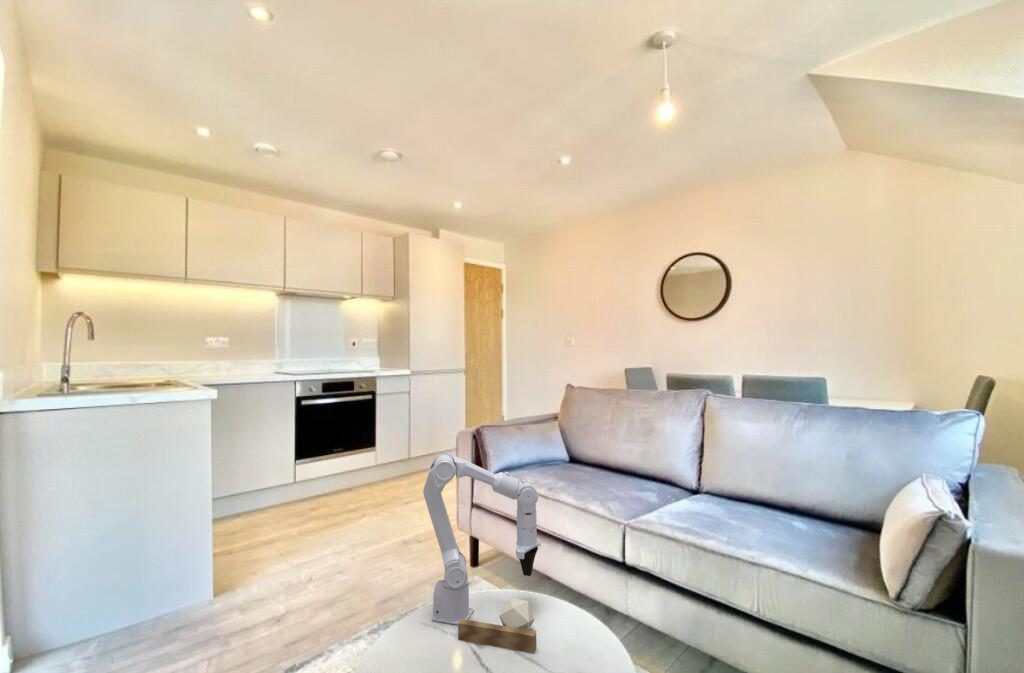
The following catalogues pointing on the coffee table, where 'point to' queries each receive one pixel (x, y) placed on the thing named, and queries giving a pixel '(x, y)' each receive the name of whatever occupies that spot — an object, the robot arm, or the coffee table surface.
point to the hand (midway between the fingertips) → (527, 574)
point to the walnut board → (497, 635)
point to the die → (517, 614)
